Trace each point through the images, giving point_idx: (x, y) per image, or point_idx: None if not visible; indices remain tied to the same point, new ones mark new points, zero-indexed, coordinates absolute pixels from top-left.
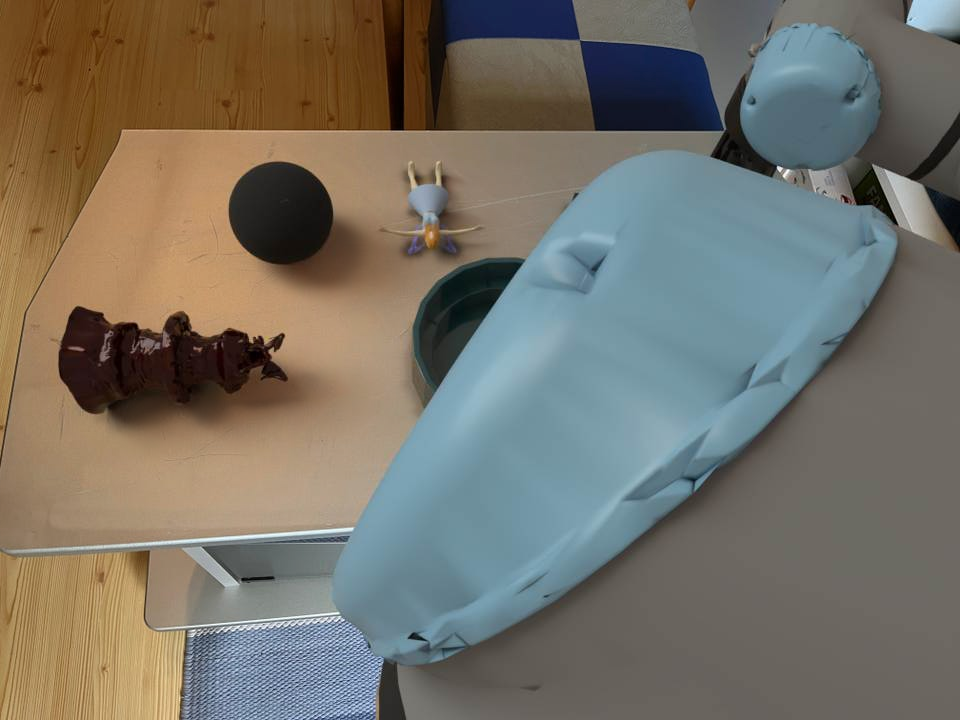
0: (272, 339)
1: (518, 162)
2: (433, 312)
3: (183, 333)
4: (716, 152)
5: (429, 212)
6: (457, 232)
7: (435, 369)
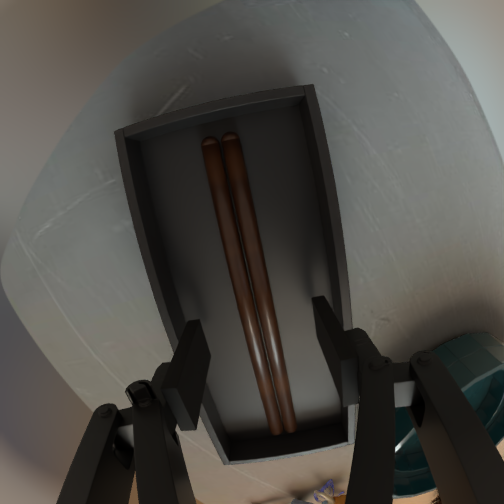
0: None
1: (196, 478)
2: (420, 473)
3: None
4: (130, 491)
5: None
6: (325, 495)
7: None
